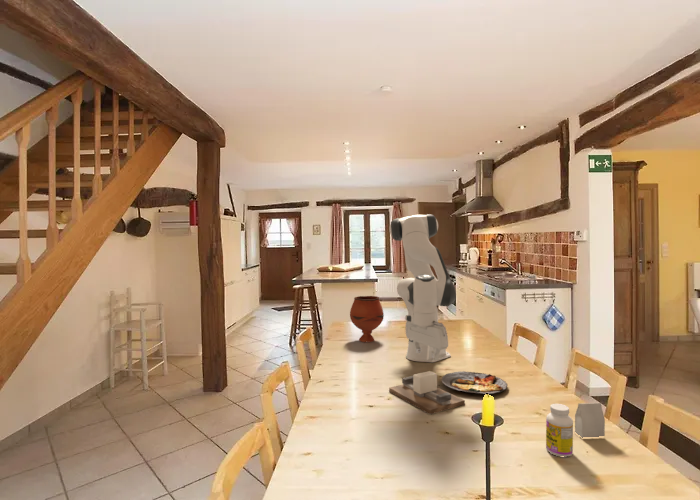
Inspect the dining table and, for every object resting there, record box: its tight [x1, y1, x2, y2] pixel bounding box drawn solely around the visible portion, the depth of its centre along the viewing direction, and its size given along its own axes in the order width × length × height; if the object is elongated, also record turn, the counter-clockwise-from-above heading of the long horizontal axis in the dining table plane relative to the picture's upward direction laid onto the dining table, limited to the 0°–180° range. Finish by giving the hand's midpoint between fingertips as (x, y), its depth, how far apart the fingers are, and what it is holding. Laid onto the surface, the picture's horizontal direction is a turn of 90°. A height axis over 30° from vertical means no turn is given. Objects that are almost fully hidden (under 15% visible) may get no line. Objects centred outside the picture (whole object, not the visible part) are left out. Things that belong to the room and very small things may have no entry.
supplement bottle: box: [545, 403, 574, 458], centre depth 115 cm, size 7×7×13 cm
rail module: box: [412, 370, 438, 397], centre depth 155 cm, size 8×4×7 cm, turn 119°
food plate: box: [441, 370, 508, 395], centre depth 166 cm, size 25×23×4 cm
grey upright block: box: [574, 402, 606, 438], centre depth 124 cm, size 4×7×10 cm, turn 92°
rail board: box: [388, 375, 466, 415], centre depth 155 cm, size 16×24×4 cm, turn 29°
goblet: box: [349, 295, 385, 343], centre depth 238 cm, size 19×19×25 cm
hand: (426, 355), depth 154 cm, fingers open, 8 cm apart
